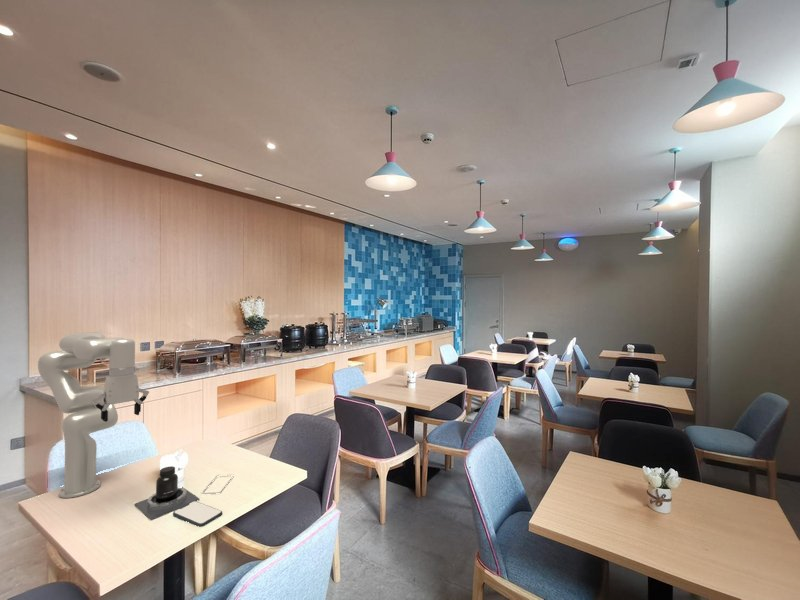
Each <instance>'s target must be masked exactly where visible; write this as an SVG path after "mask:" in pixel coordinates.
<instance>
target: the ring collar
mask: <svg viewBox="0 0 800 600" xmlns="http://www.w3.org/2000/svg"><path fill="white" fill-rule="evenodd" d="M197 500H199V501H200V497H198V496H196V495H195V494H194V493H192V492H190V491H189V490H188V489H186V488H184V487H183V486H182V488H177V499H174V500H172V501H169V502H164V503H156V492H155V493H154V494H152V495H150V496H149V497H148V498H146V499H143V500H141V501H138V502H136V503H134V507H135V508H136V509H138V510H139V511H140V512H141V513H142V514H143V515H144V516H145V517H146V518H147V519H149V521H153V520H155V519H159V518H160V517H162V516H165V515H168V514H170V513H173V512H174V511H176V510H177V509H179V508H181V507H183V506H185V505H187V504H189V503H191V502H194V501H197ZM197 502H198V501H197Z"/></svg>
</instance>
